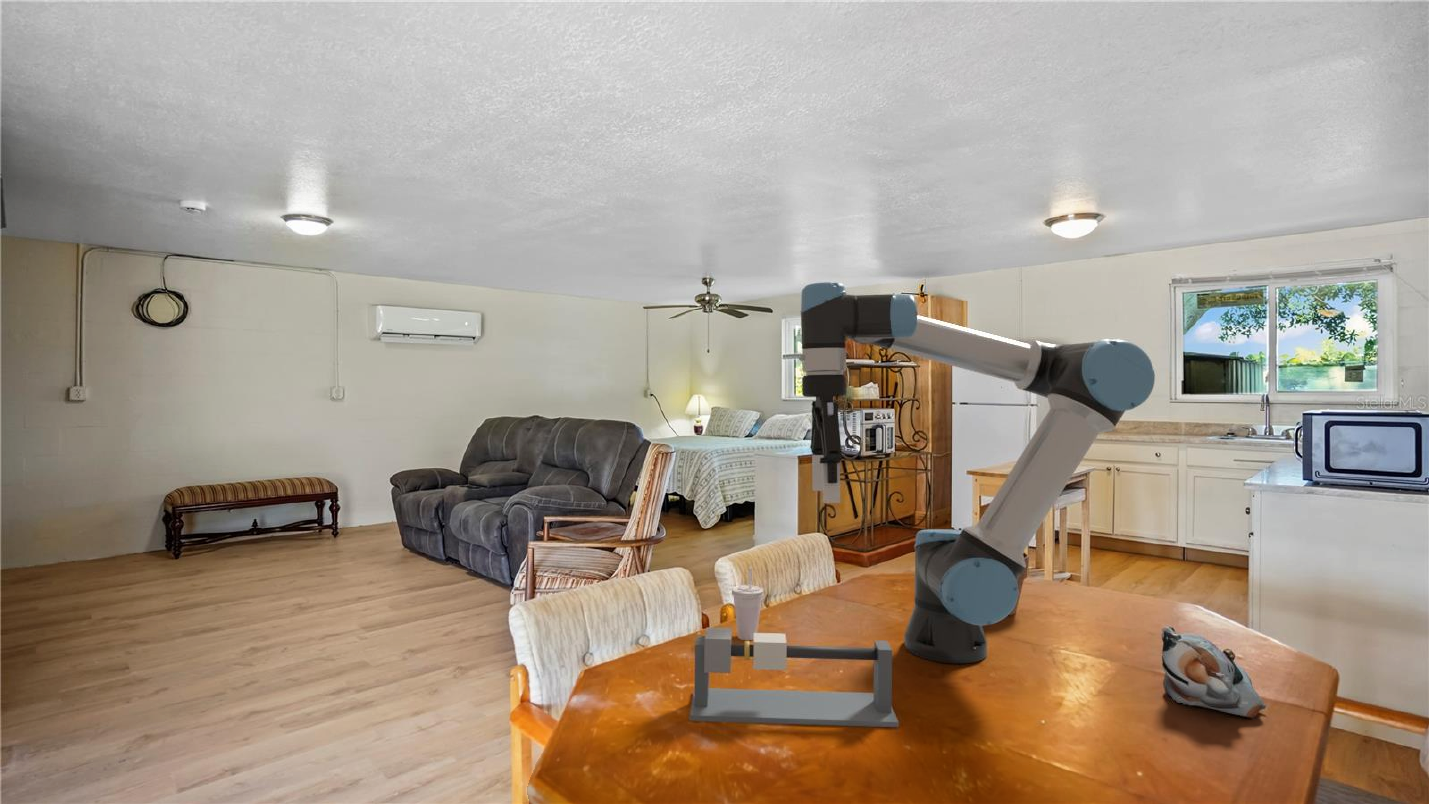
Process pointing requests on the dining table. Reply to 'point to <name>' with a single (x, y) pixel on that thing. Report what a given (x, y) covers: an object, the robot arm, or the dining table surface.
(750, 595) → the smoothie
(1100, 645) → the dining table surface
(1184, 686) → the gray steam iron
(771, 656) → the sleeve
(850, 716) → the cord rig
